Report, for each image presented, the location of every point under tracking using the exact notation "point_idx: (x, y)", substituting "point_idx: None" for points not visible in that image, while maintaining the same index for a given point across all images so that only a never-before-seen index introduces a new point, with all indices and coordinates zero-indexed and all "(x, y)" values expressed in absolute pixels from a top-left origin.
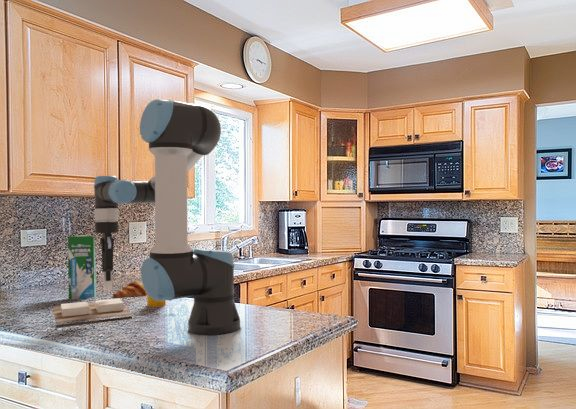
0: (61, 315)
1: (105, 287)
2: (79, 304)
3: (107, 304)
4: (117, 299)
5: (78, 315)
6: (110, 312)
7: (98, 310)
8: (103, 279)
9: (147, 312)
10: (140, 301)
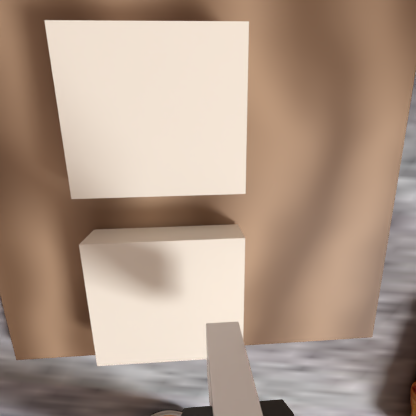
0: None
1: (207, 351)
2: (166, 144)
3: (86, 293)
4: None
5: None
6: None
7: (90, 236)
8: (238, 399)
9: (126, 400)
10: (361, 397)
